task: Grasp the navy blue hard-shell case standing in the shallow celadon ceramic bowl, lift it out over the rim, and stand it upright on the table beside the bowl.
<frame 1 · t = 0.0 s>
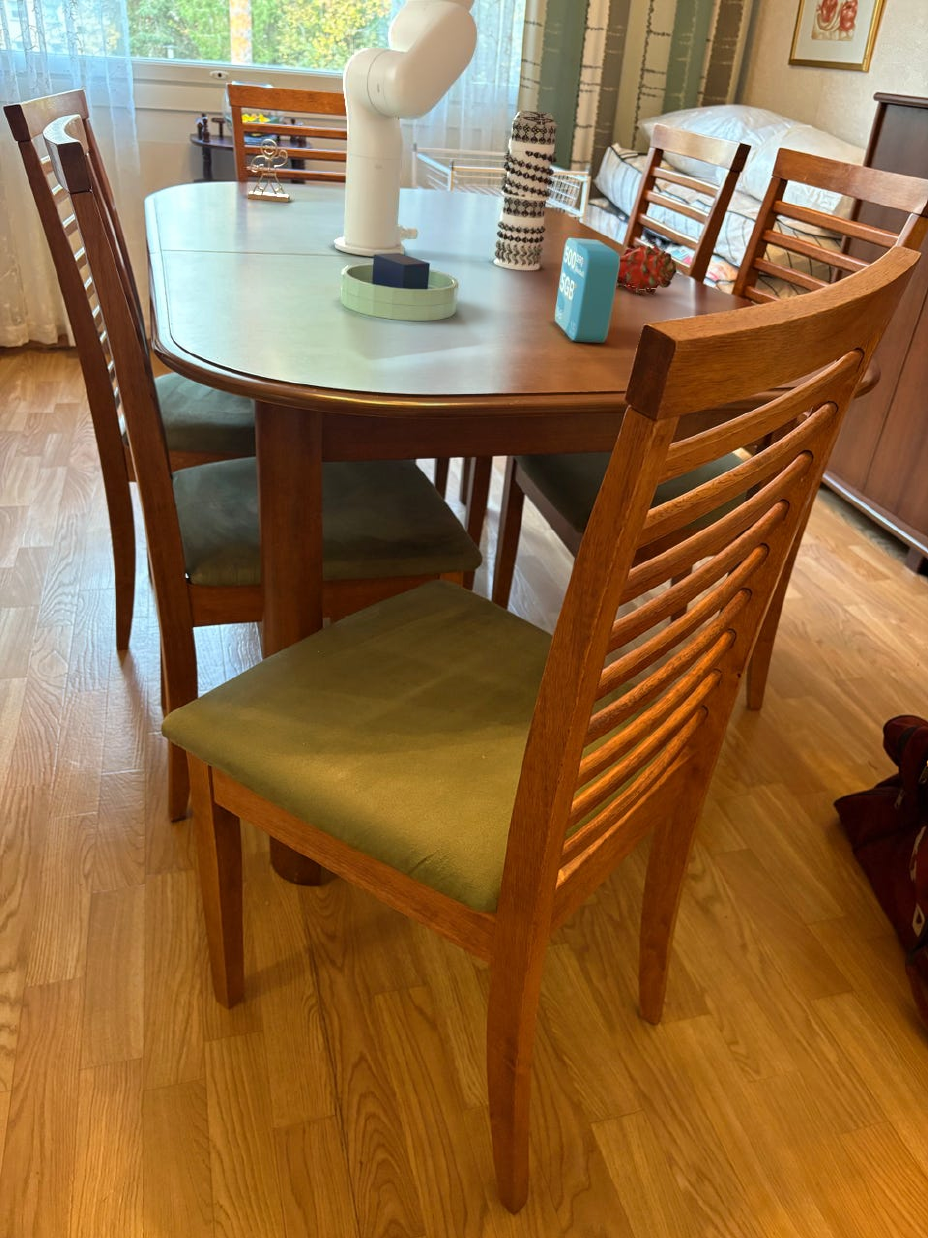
decorative candle: (516, 266, 176), on the table
gingerbread man figurine: (269, 199, 213), on the table
dragon fruit: (637, 292, 166), on the table
bowl: (398, 308, 138), on the table
data package: (578, 334, 137), on the table
case: (398, 305, 138), resting on bowl
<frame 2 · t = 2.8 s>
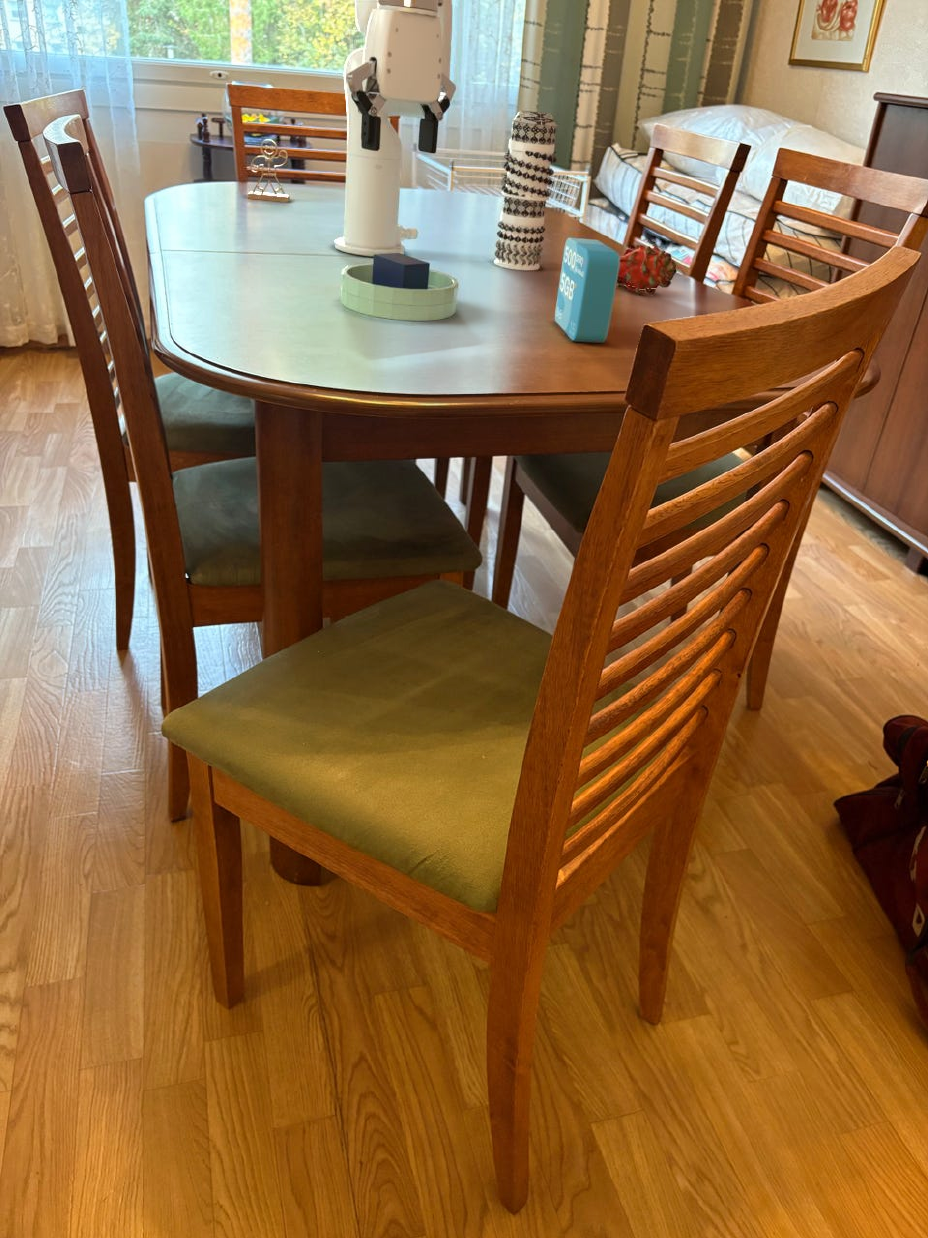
hand: (399, 150, 129), 20 cm above the table, tool pointing down, fingers open, 9 cm apart
nothing on the table moved.
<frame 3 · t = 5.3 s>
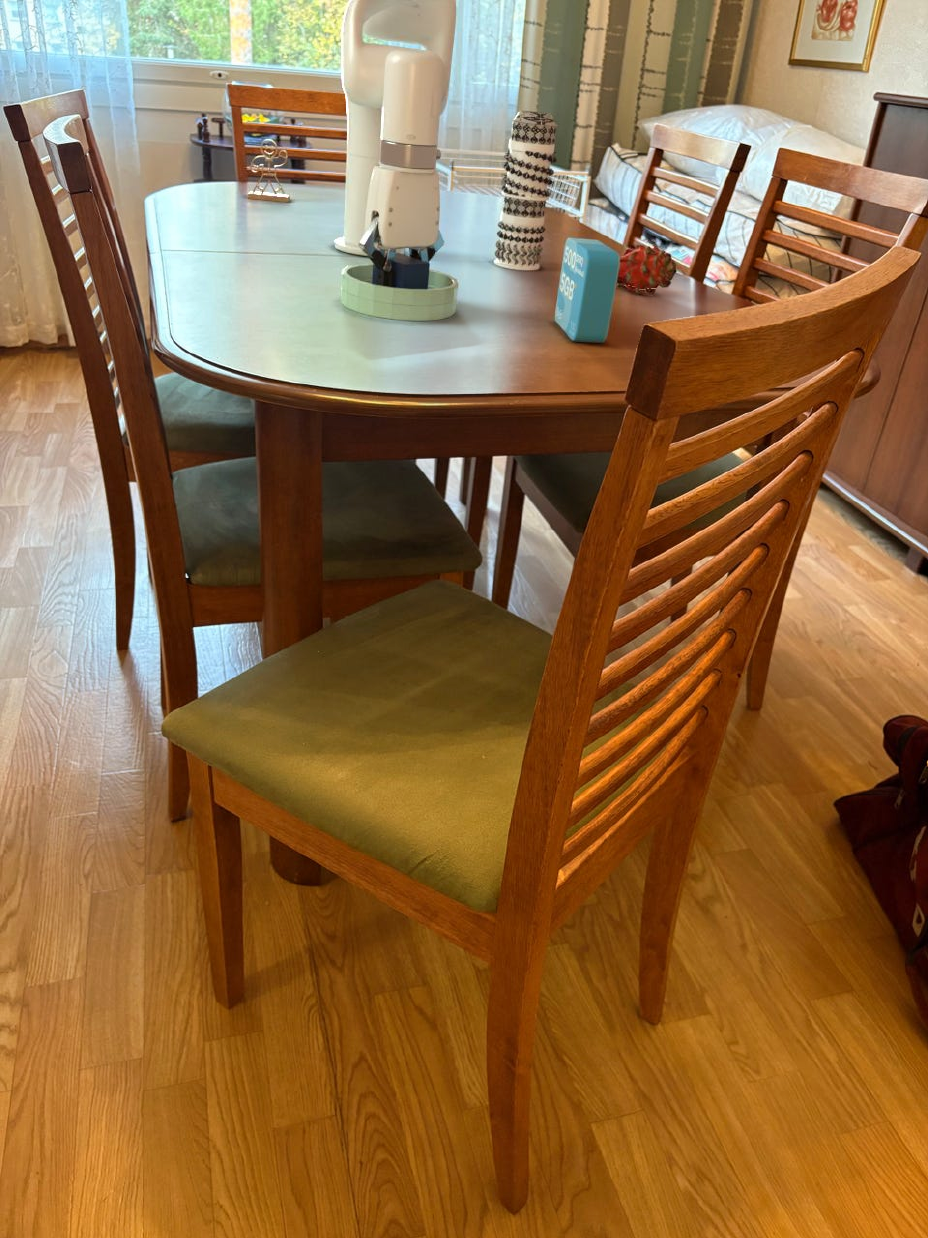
hand: (399, 295, 137), 2 cm above the table, tool pointing down, fingers closed on case, 4 cm apart
case: (398, 305, 138), resting on bowl, touching gripper
everything else where it was.
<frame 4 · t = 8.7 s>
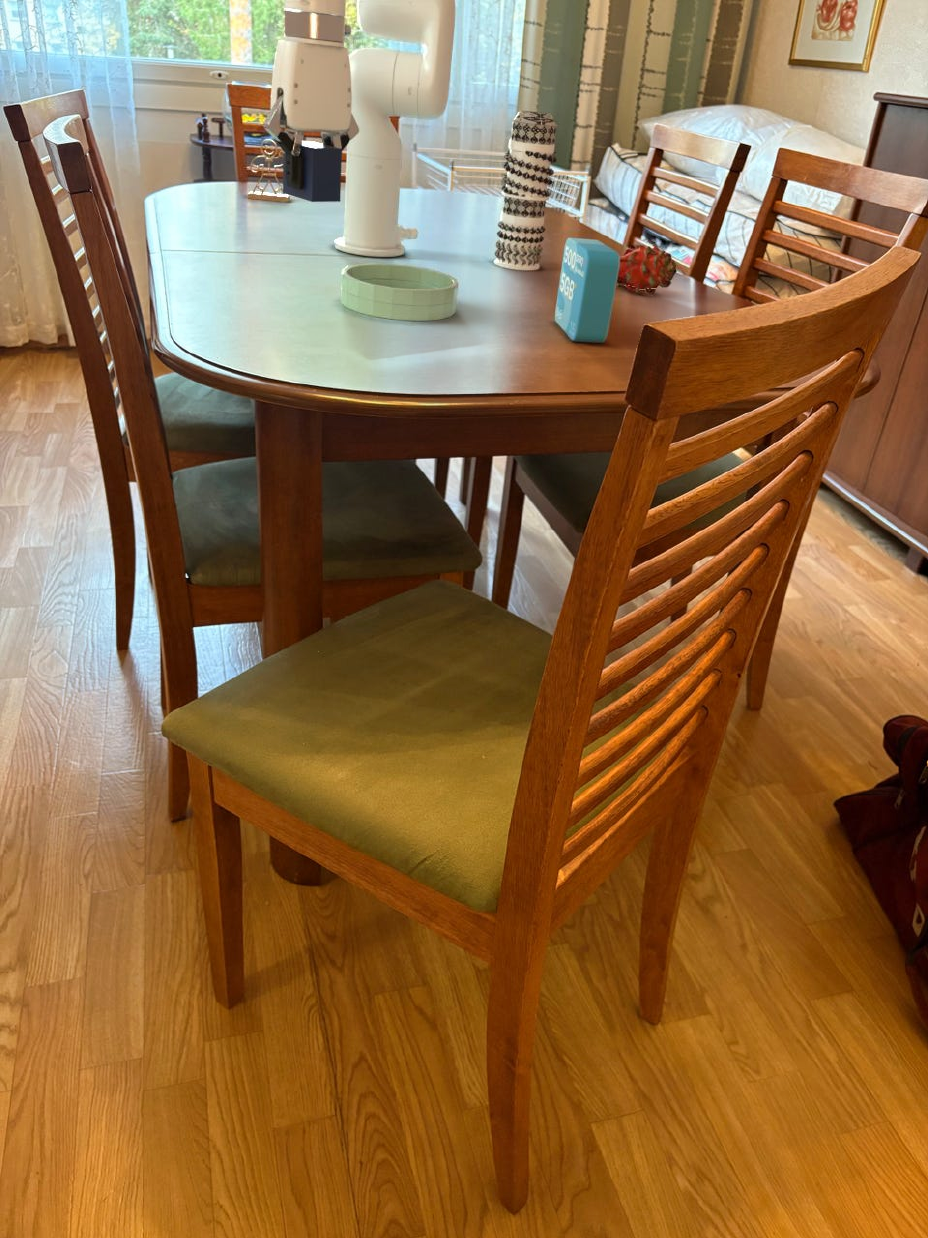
hand: (311, 186, 130), 15 cm above the table, tool pointing down, fingers closed on case, 4 cm apart
case: (311, 197, 130), point 14 cm above the table, touching gripper
everything else where it was.
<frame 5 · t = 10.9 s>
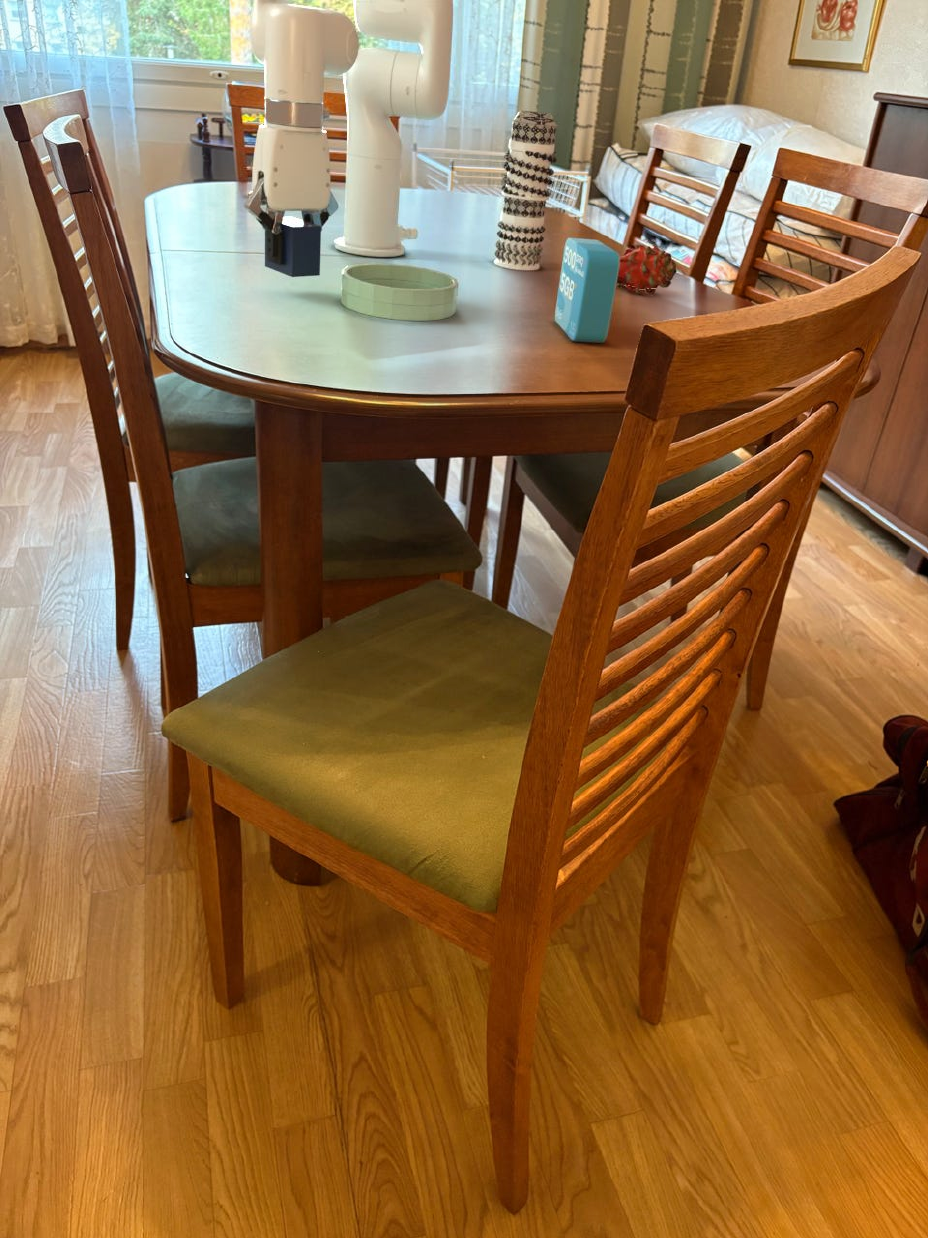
hand: (292, 260, 134), 5 cm above the table, tool pointing down, fingers closed on case, 4 cm apart
case: (292, 270, 135), point 4 cm above the table, touching gripper
everything else where it was.
when the fingers open (1 cm above the table, at t = 12.3 s): case stays where it is, on the table.
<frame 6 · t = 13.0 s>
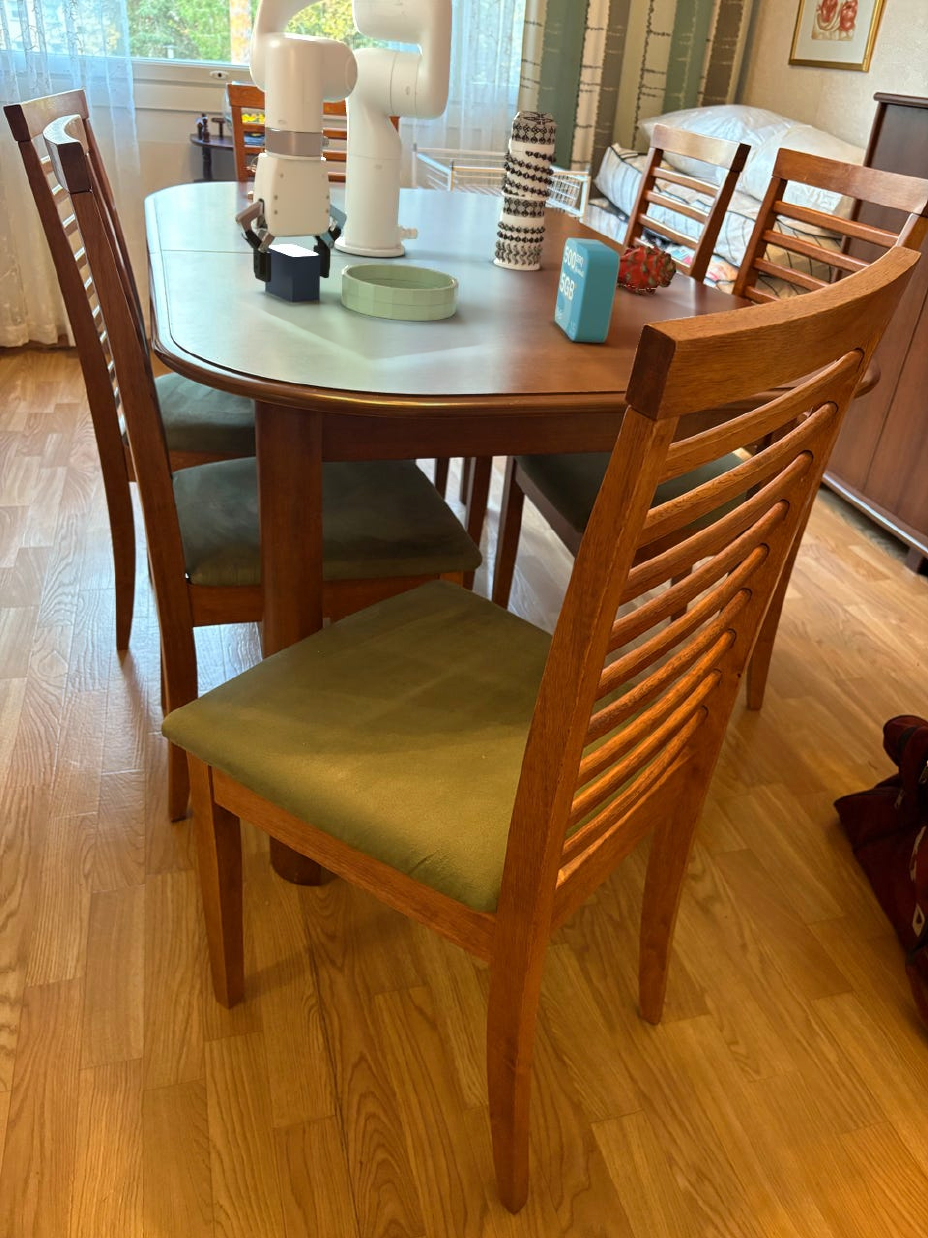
hand: (292, 277, 136), 3 cm above the table, tool pointing down, fingers open, 9 cm apart
case: (292, 297, 137), on the table
everything else where it was.
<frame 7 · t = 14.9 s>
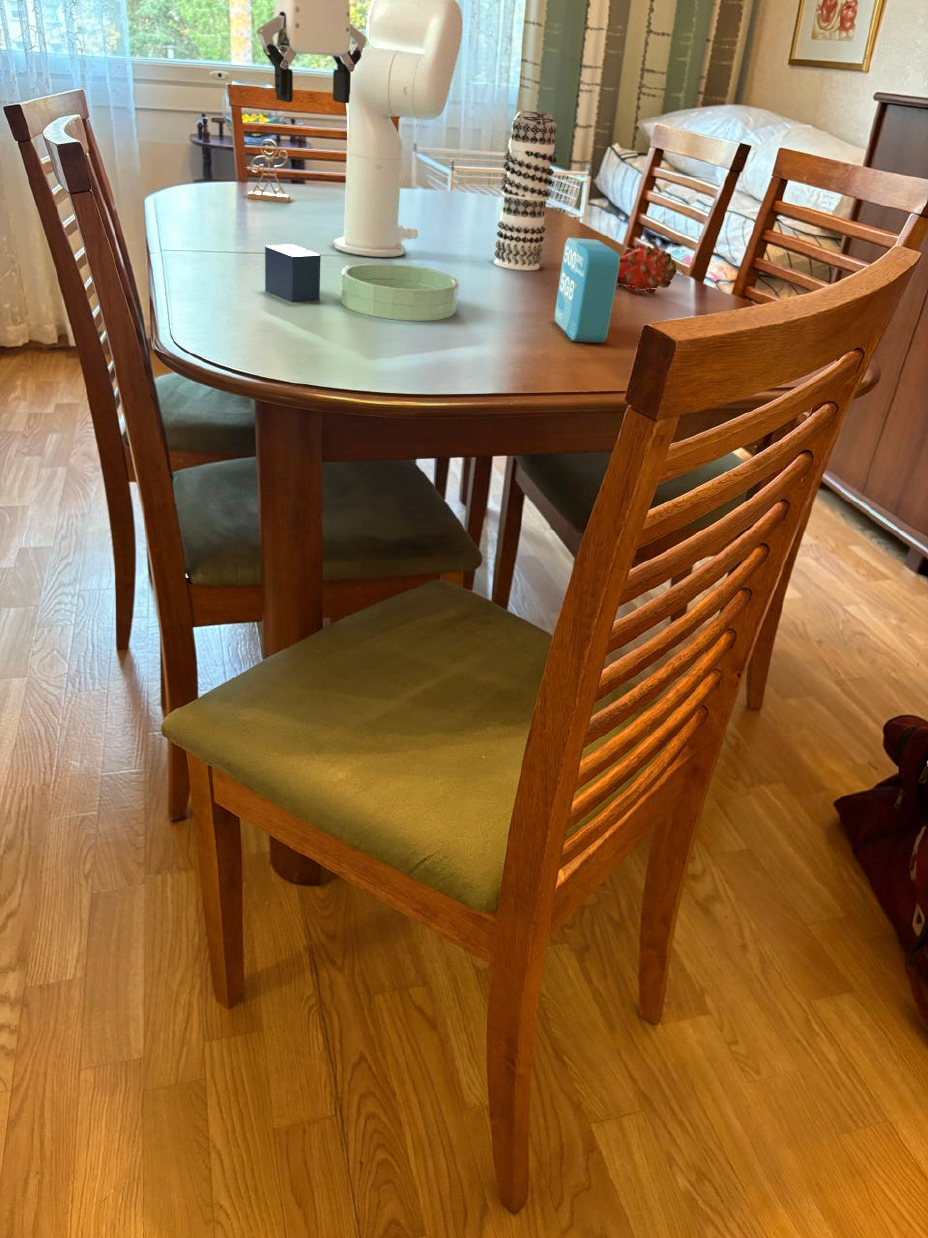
hand: (313, 101, 136), 24 cm above the table, tool pointing down, fingers open, 9 cm apart
nothing on the table moved.
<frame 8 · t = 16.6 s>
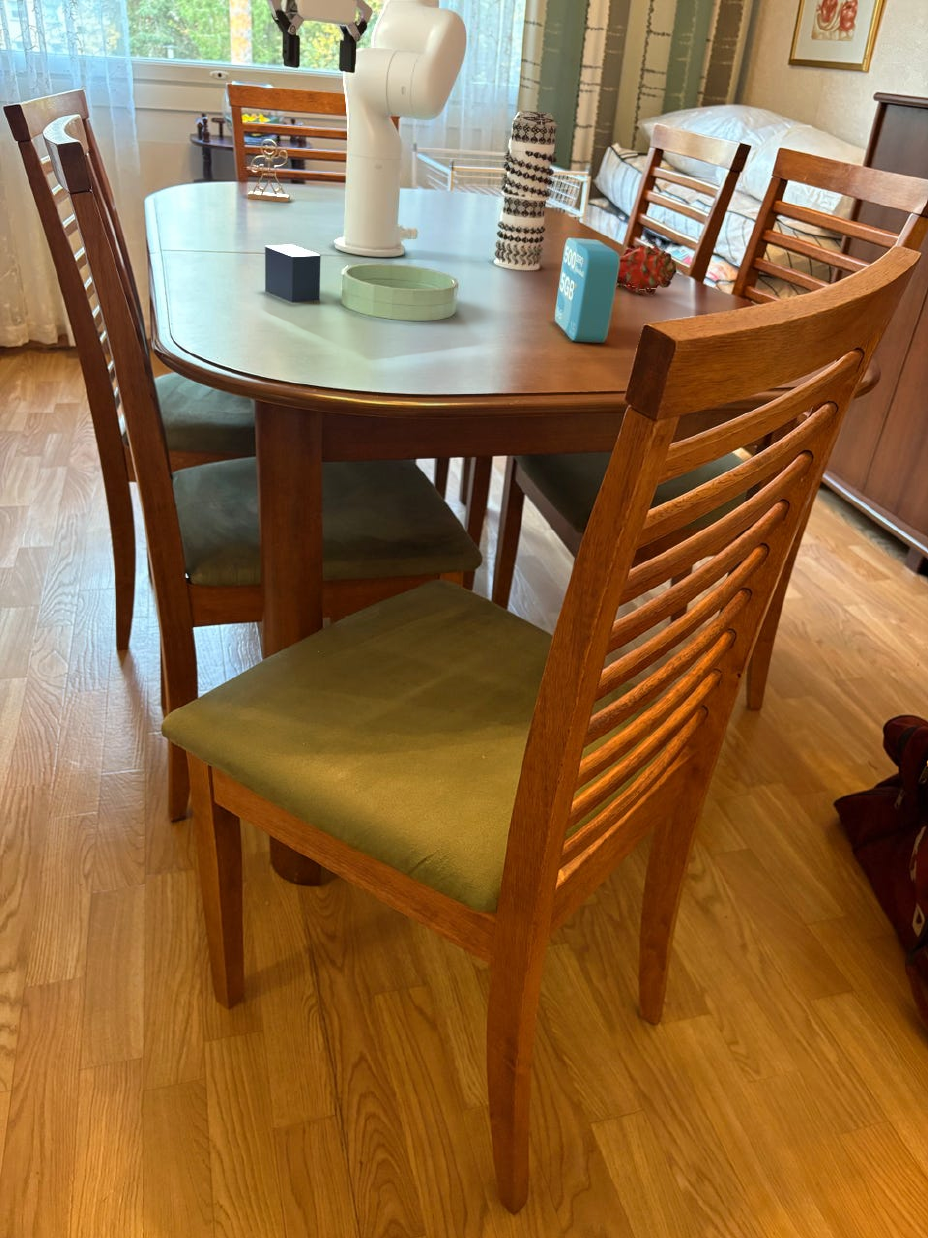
hand: (319, 69, 139), 28 cm above the table, tool pointing down, fingers open, 9 cm apart
nothing on the table moved.
at the end: case inside the target area (0.1 cm from its centre), on the table; case tilted 0°; the gripper is holding nothing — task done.
